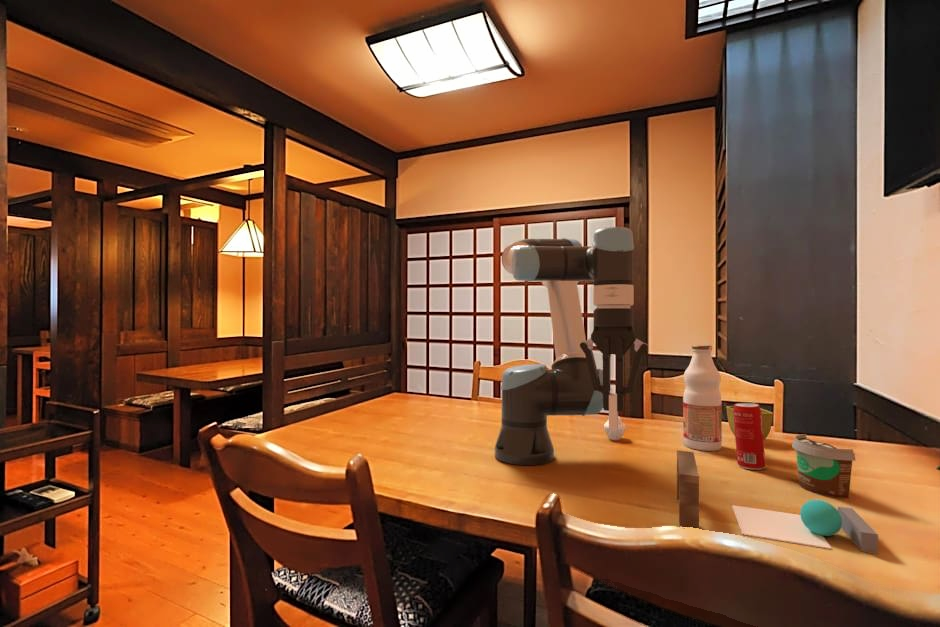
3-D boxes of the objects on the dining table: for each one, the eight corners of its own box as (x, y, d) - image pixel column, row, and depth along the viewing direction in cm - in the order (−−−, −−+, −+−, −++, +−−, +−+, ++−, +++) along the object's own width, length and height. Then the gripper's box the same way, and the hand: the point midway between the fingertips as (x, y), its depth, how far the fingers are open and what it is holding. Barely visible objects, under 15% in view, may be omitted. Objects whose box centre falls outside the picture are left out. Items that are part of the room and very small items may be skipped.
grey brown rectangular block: (679, 527, 77) (679, 474, 77) (676, 496, 91) (676, 450, 91) (699, 530, 76) (699, 476, 76) (693, 498, 90) (693, 452, 90)
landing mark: (742, 534, 75) (742, 533, 75) (731, 506, 86) (731, 505, 86) (831, 549, 70) (831, 548, 70) (808, 517, 81) (808, 516, 81)
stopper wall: (861, 551, 70) (861, 531, 70) (837, 523, 79) (837, 506, 79) (877, 554, 69) (877, 534, 69) (852, 525, 78) (852, 508, 78)
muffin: (600, 436, 135) (600, 412, 135) (620, 435, 136) (619, 412, 136) (609, 442, 129) (609, 417, 129) (629, 441, 130) (629, 417, 130)
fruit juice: (699, 452, 119) (699, 346, 119) (675, 442, 128) (675, 344, 128) (730, 450, 121) (729, 346, 121) (704, 440, 130) (704, 343, 130)
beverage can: (769, 471, 105) (769, 407, 105) (739, 470, 106) (738, 406, 106) (758, 463, 110) (758, 402, 110) (729, 461, 112) (729, 401, 112)
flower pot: (774, 444, 126) (774, 412, 126) (742, 444, 126) (742, 412, 126) (755, 436, 135) (754, 406, 135) (725, 436, 135) (725, 406, 135)
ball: (800, 531, 74) (813, 501, 73) (791, 516, 79) (803, 488, 78) (839, 548, 72) (853, 518, 71) (827, 532, 77) (840, 503, 76)
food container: (777, 479, 100) (777, 434, 100) (803, 478, 100) (803, 433, 100) (826, 502, 88) (826, 451, 88) (855, 501, 88) (855, 450, 88)
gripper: (576, 307, 88) (576, 428, 88) (648, 306, 83) (648, 435, 83) (582, 307, 95) (582, 420, 95) (649, 307, 90) (649, 426, 90)
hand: (613, 427), depth 89 cm, fingers closed
